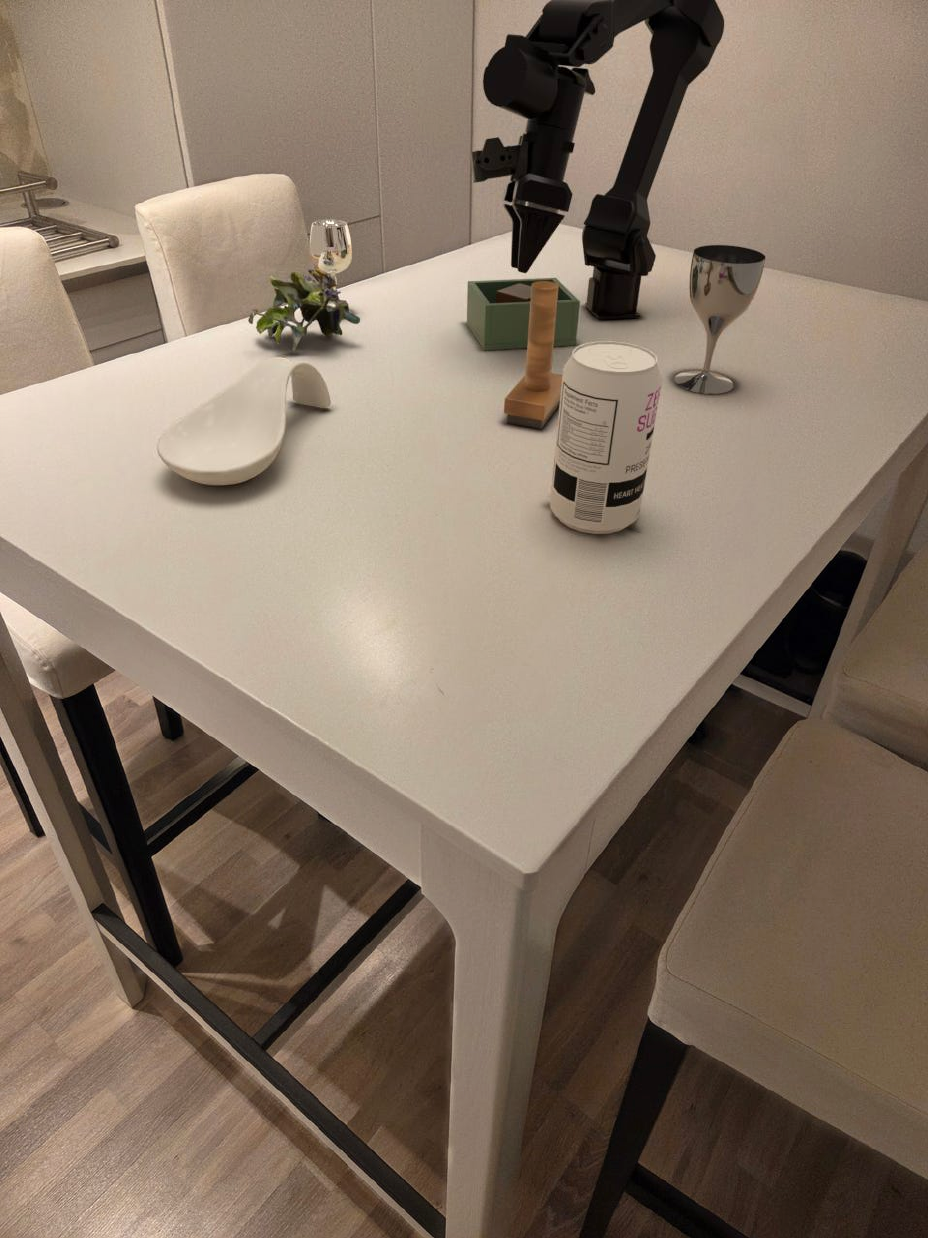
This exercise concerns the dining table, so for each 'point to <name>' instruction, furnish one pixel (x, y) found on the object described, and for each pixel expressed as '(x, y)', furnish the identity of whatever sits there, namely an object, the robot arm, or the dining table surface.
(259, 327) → the passion flower
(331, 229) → the wineglass
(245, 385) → the spoon rest
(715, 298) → the wine glass
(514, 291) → the block
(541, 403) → the stamp
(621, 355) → the supplement can
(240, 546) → the dining table surface
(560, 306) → the bin
